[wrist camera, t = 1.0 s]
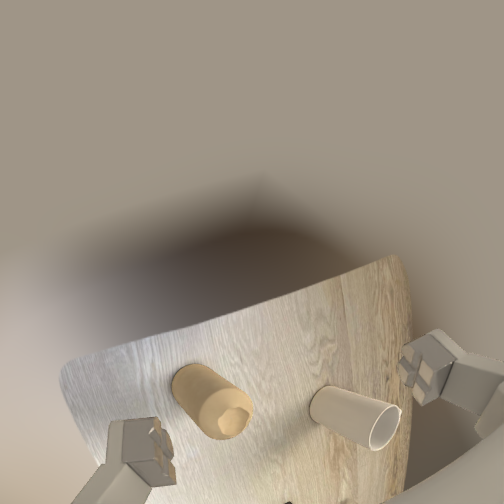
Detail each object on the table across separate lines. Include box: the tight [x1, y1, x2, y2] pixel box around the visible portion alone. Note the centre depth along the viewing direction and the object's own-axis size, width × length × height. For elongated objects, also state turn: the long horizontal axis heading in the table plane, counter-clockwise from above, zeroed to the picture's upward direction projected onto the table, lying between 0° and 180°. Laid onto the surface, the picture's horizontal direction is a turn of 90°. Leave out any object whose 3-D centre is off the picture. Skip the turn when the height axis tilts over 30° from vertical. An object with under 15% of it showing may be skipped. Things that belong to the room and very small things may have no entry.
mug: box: [310, 386, 402, 451], centre depth 39 cm, size 10×7×12 cm, turn 89°
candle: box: [172, 364, 253, 440], centre depth 29 cm, size 6×6×10 cm
